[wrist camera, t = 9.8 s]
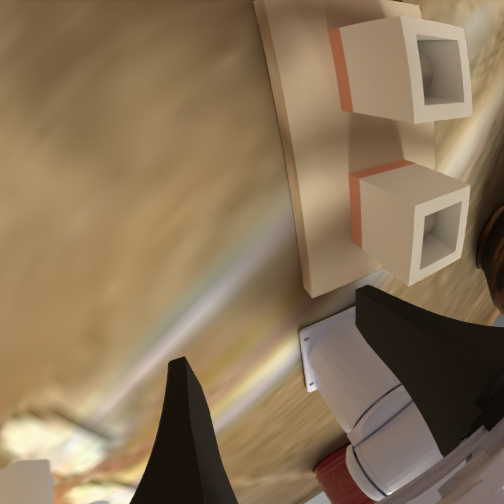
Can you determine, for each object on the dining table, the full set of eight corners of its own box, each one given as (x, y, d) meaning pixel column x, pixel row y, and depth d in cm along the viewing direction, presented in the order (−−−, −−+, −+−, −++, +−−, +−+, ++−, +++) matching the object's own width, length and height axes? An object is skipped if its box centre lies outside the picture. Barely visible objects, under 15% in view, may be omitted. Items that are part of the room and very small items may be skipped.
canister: (377, 426, 44) (430, 501, 30) (372, 449, 51) (414, 512, 36) (309, 462, 43) (355, 545, 28) (315, 479, 49) (352, 547, 34)
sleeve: (401, 102, 18) (472, 116, 13) (341, 110, 17) (414, 124, 12) (391, 32, 15) (463, 28, 10) (327, 30, 14) (399, 15, 9)
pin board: (418, 239, 26) (465, 270, 21) (303, 287, 24) (344, 337, 19) (405, 7, 16) (467, 1, 11) (253, 1, 14) (300, -33, 9)
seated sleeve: (403, 221, 22) (460, 257, 17) (352, 241, 21) (408, 286, 16) (404, 159, 20) (470, 185, 15) (348, 173, 19) (414, 206, 14)
